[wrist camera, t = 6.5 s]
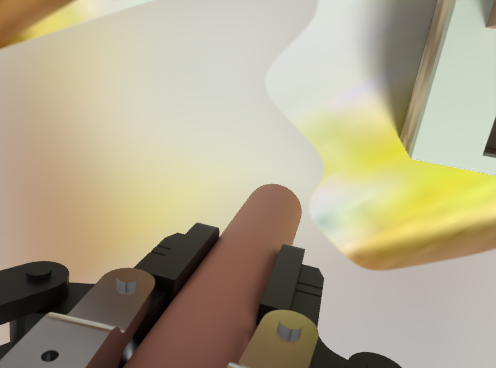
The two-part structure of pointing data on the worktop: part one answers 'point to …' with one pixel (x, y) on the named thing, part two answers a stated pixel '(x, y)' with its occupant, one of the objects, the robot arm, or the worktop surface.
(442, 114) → the lid
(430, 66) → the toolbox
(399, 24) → the worktop surface
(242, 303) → the rounded rod
